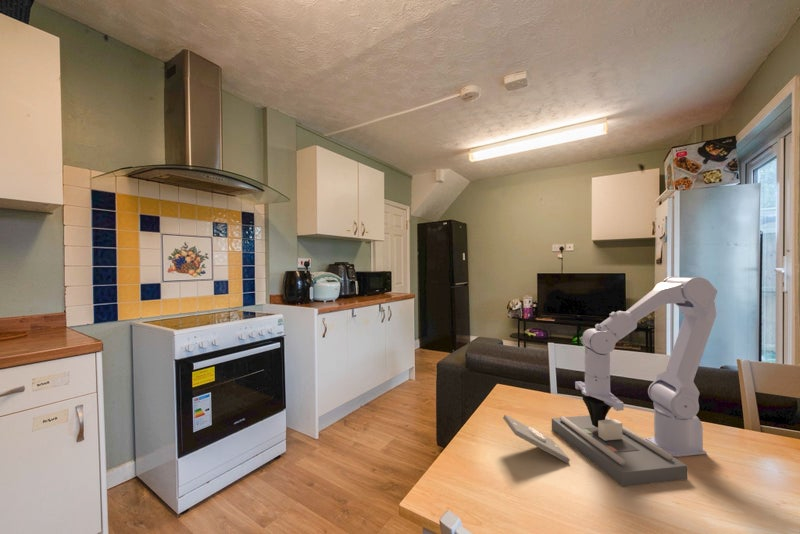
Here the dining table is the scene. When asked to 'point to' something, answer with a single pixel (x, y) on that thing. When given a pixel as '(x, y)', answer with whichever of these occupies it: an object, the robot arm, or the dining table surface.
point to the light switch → (535, 438)
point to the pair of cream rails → (611, 453)
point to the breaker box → (621, 455)
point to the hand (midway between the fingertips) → (597, 425)
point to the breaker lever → (610, 429)
